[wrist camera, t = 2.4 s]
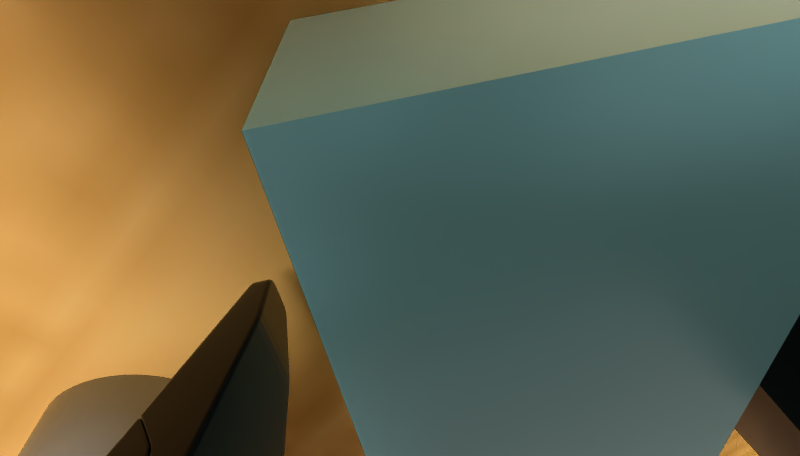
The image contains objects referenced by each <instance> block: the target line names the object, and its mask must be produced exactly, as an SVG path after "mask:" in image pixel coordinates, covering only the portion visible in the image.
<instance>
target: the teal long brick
mask: <svg viewBox="0 0 800 456" xmlns="http://www.w3.org/2000/svg"><path fill="white" fill-rule="evenodd" d="M242 133H243V136H244V138H245V141H246V144H247V146H248V149H249V152H250V154H251V157H252V159H253V162H254V165H255V167H256V170H257V173H258V175H259V178H260V180H261V183H262V186H263V188H264V191H265V194H266V196H267V199H268V201H269V204H270V207H271V209H272V212H273V215H274V217H275V220H276V223H277V225H278V228H279V230H280V233H281V236H282V238H283V241H284V244H285V246H286V249H287V251H288V254H289V257H290V259H291V262H292V265H293V267H294V270H295V272H296V275H297V278H298V280H299V283H300V286H301V288H302V291H303V293H304V296H305V299H306V301H307V304H308V307H309V309H310V312H311V314H312V317H313V320H314V322H315V325H316V328H317V330H318V333H319V335H320V338H321V341H322V343H323V346H324V349H325V351H326V354H327V356H328V359H329V362H330V364H331V367H332V370H333V372H334V375H335V377H336V380H337V383H338V385H339V388H340V391H341V393H342V396H343V398H344V401H345V404H346V406H347V409H348V412H349V414H350V417H351V419H352V422H353V425H354V427H355V430H356V433H357V435H358V438H359V440H360V443H361V446H362V448H363V451H364V454H365V456H719V454H720V452H721V450H722V449H723V447H724V445H725V444H726V442H727V440H728V438H729V437H730V435H731V433H732V431H733V430H734V428H735V426H736V424H737V423H738V421H739V419H740V417H741V416H742V414H743V412H744V410H745V409H746V407H747V405H748V404H749V402H750V400H751V398H752V397H753V395H754V393H755V391H756V390H757V388H758V386H759V384H760V383H761V381H762V379H763V377H764V376H765V374H766V372H767V371H768V369H769V367H770V365H771V364H772V362H773V360H774V358H775V357H776V355H777V353H778V351H779V350H780V348H781V346H782V344H783V343H784V341H785V339H786V337H787V336H788V334H789V332H790V331H791V329H792V327H793V325H794V324H795V322H796V320H797V318H798V317H799V315H800V0H396V1H391V2H385V3H380V4H374V5H369V6H364V7H358V8H353V9H348V10H342V11H337V12H331V13H326V14H321V15H315V16H310V17H304V18H299V19H294V20H290V22H289V24H288V26H287V28H286V31H285V33H284V35H283V38H282V40H281V42H280V44H279V47H278V49H277V51H276V53H275V56H274V58H273V60H272V63H271V65H270V67H269V69H268V72H267V74H266V76H265V78H264V81H263V83H262V85H261V88H260V90H259V92H258V94H257V97H256V99H255V101H254V103H253V106H252V108H251V110H250V113H249V115H248V117H247V119H246V122H245V124H244V126H243V128H242Z"/></svg>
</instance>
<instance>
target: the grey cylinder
mask: <svg viewBox="0 0 800 456" xmlns="http://www.w3.org/2000/svg"><path fill="white" fill-rule="evenodd" d="M170 380H171V379H169V378H164V377H158V376H150V375H118V376H109V377H104V378H98V379H94V380H90V381H87V382H84V383H81V384H79V385H76V386H74V387H72V388H70V389H68V390H66V391H64V392H63V393H61V394H60V395H59V396H57V397H56V398H55V399H54V400H53V401H52V402H51V403H50V404H49V406H48V407H47V409H46V410H45V412H44V414H43V415H42V417H41V419H40V420H39V422H38V424H37V425H36V427H35V429H34V430H33V432H32V433H31V435H30V437H29V438H28V440H27V442H26V443H25V445H24V447H23V448H22V450H21V452H20V453H19V455H18V456H106V455H107V454H108V453H109V451H110V450H111V449H112V448H113V447H114V446H115V445H116V443H117V442H118V441H119V440H120V439H121V438H122V437H123V435H124V434H125V433H126V432H127V431H128V429H129V428H130V427H131V426H132V425H133V424H134V422H135V421H136V420H137V419H139V418H140V419H141V414H142V413H143V412H144V411H145V410H146V408H147V407H148V406H149V405H150V404H151V402H152V401H153V400H154V399H155V398H156V397H157V395H158V394H159V393H160V392H161V391H162V389H163V388H164V387H165V386H166V385H167V384H168V382H169V381H170Z"/></svg>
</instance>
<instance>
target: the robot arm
mask: <svg viewBox="0 0 800 456" xmlns="http://www.w3.org/2000/svg"><path fill="white" fill-rule="evenodd" d="M759 386H760V387H761V388H762V389H763V391H764V392H765V393H766V394H767V395H768V396H769V397H770V399H771V400H772V401H773V402H774V403H775V404H776V405H777V407H778V408H779V409H780V410H781V411H782V412H783V413H784V415H785V416H786V417H787V418H788V419H789V420H790V422H791V423H792V424H793V425H794V426H795V427H796V428H797V430H798V431H799V432H800V315H799V317H798V318H797V320H796V322H795V324H794V325H793V327H792V329H791V331H790V332H789V334H788V336H787V337H786V339H785V341H784V343H783V344H782V346H781V348H780V350H779V351H778V353H777V355H776V357H775V358H774V360H773V362H772V364H771V365H770V367H769V369H768V371H767V372H766V374H765V376H764V377H763V379H762V381H761V383H760V384H759ZM288 396H289V357H288V338H287V318H286V311H285V307H284V304H283V302H282V300H281V297H280V295H279V293H278V290H277V288H276V286H275V284H274V282H273V281H272V280H264V281H260V282H256V283H253V284H252V285H250V287H249V288H248V289H247V290H246V291H245V293H244V294H243V295H242V296H241V297H240V298H239V300H238V301H237V302H236V303H235V304H234V306H233V307H232V308H231V309H230V310H229V311H228V313H227V314H226V315H225V316H224V317H223V319H222V320H221V321H220V322H219V323H218V324H217V326H216V327H215V328H214V329H213V330H212V332H211V333H210V334H209V335H208V336H207V337H206V339H205V340H204V341H203V342H202V343H201V345H200V346H199V347H198V348H197V349H196V350H195V352H194V353H193V354H192V355H191V356H190V358H189V359H188V360H187V361H186V362H185V363H184V365H183V366H182V367H181V368H180V369H179V371H178V372H177V373H176V374H175V375H174V376H173V378H172V379H171V380H170V381H169V382H168V384H167V385H166V386H165V387H164V388H163V389H162V391H161V392H160V393H159V394H158V395H157V397H156V398H155V399H154V400H153V401H152V402H151V404H150V405H149V406H148V407H147V408H146V410H145V411H144V412H143V413H142V414H141V419H140V418H139V419H137V420H136V421H135V422H134V424H133V425H132V426H131V427H130V428H129V429H128V431H127V432H126V433H125V434H124V435H123V437H122V438H121V439H120V440H119V441H118V442H117V443H116V445H115V446H114V447H113V448H112V449H111V450H110V451H109V453H108V454H107V455H106V456H284V451H285V437H286V424H287V410H288Z"/></svg>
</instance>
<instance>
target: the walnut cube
mask: <svg viewBox="0 0 800 456" xmlns="http://www.w3.org/2000/svg"><path fill="white" fill-rule="evenodd" d="M735 429H736V431H737V432H738V433H739V434H740V435H741V436H742V437H743V438H744V439H745V440H746V442H747V443H748V444H749V445H750V446H751V447H752V448H753V449H754V450H755V451H756V453H757V454H758V455H759V456H800V432H799V431H798V430H797V428H796V427H795V426H794V425H793V424H792V423H791V422H790V420H789V419H788V418H787V417H786V416H785V415H784V413H783V412H782V411H781V410H780V409H779V408H778V407H777V405H776V404H775V403H774V402H773V401H772V400H771V399H770V397H769V396H768V395H767V394H766V393H765V392H764V391H763V389H762V388H761V387H760V386H758V388H757V390H756V391H755V393H754V395H753V397H752V398H751V400H750V402H749V404H748V405H747V407H746V409H745V410H744V412H743V414H742V416H741V417H740V419H739V421H738V423H737V424H736V426H735Z"/></svg>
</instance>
